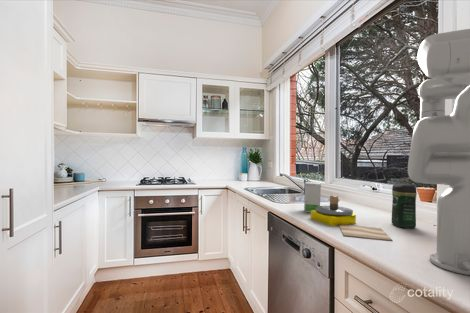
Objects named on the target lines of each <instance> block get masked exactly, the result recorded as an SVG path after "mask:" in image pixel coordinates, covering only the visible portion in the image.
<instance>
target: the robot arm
mask: <svg viewBox="0 0 470 313" xmlns="http://www.w3.org/2000/svg"><path fill="white" fill-rule="evenodd" d="M417 64H418V65H419V67H420V69H421V70H422V72H423V74H425V76H426V77H428V78H429V79H426V80H423V81H422V82H421V84H420V85H419V86H418V96H419V97H420V98H419V99H420V102H419V104H420V106H419V120H418V121H417V122H416V123H415V126H414V128H413V131H412V137H411V142H410V149H409V154H408V163H407V174H408V175H407V176H408V177H409V179H410V180H411V181H413V182H414V183H418V184H426V185H427V184H429V185H430V184H431V185H444V186H448V187H447V188H446V189H445V190H444V191H443V192H442V193H441V194H440V195H439V196H438V199H437V207H436V253H432V254H430V255H429V261H430V263H432V264H433V265H435V266H437V267H439V268H441V269H444V270H447V271H449V272H454V273H457V274H461V275H466V276H470V28H465V29H460V30H452V31H447V32H440V33H439V32H438V33H433V34H431V35H428V36H427V37H425V38H423V41H422V42H421V43H420V44H419V47H418V51H417ZM446 100H455V102H454V107H453V109H452V110H453V111H452V113H450V114H449V115H446Z"/></svg>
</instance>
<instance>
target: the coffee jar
mask: <svg viewBox="0 0 470 313" xmlns="http://www.w3.org/2000/svg"><path fill="white" fill-rule="evenodd" d="M391 187H392V188H391V190H392V191H391V193H392V201H391V202H392V204H391V205H392V207H391V208H392V209H391V224H392V225H394V226H395V227H399V228H403V229H416V227H417V214H416V213H417V212H416V210H417V209H416V208H417V203H416V202H417V195H418V194H417V187H416V186H414V185H413V184H409V183H404V182H400V183H399V182H398V183H397V182H396V183H395V184H393V185H392V186H391Z"/></svg>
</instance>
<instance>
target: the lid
mask: <svg viewBox="0 0 470 313" xmlns="http://www.w3.org/2000/svg"><path fill="white" fill-rule="evenodd" d="M316 211H317V212H319V213H323V214H328V215H337V216H347V215H352V214H354V210H353V209H351V208H348V207H344V206H339V195H329V205H320V206H317V207H316Z"/></svg>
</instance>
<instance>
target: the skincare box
mask: <svg viewBox="0 0 470 313" xmlns="http://www.w3.org/2000/svg"><path fill="white" fill-rule="evenodd" d="M304 184H305V186H304V201H303V202H304V206H303V212H304V213H311V210H316V207H317V206H321V197H322V196H321V195H322V194H321V190H322V184H321V182H310V181H305V183H304Z"/></svg>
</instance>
